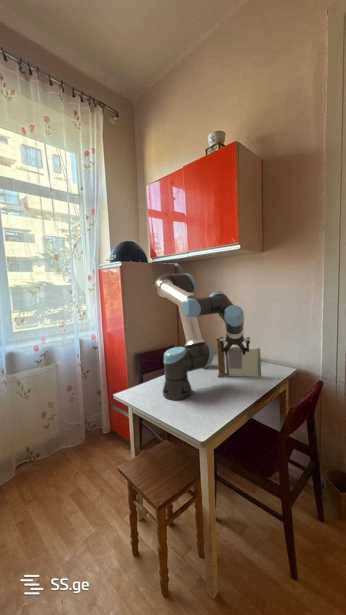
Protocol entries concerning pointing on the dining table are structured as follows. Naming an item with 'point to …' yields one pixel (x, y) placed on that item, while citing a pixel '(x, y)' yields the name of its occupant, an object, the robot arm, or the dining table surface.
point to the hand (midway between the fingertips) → (235, 356)
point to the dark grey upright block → (235, 358)
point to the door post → (221, 360)
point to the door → (247, 364)
